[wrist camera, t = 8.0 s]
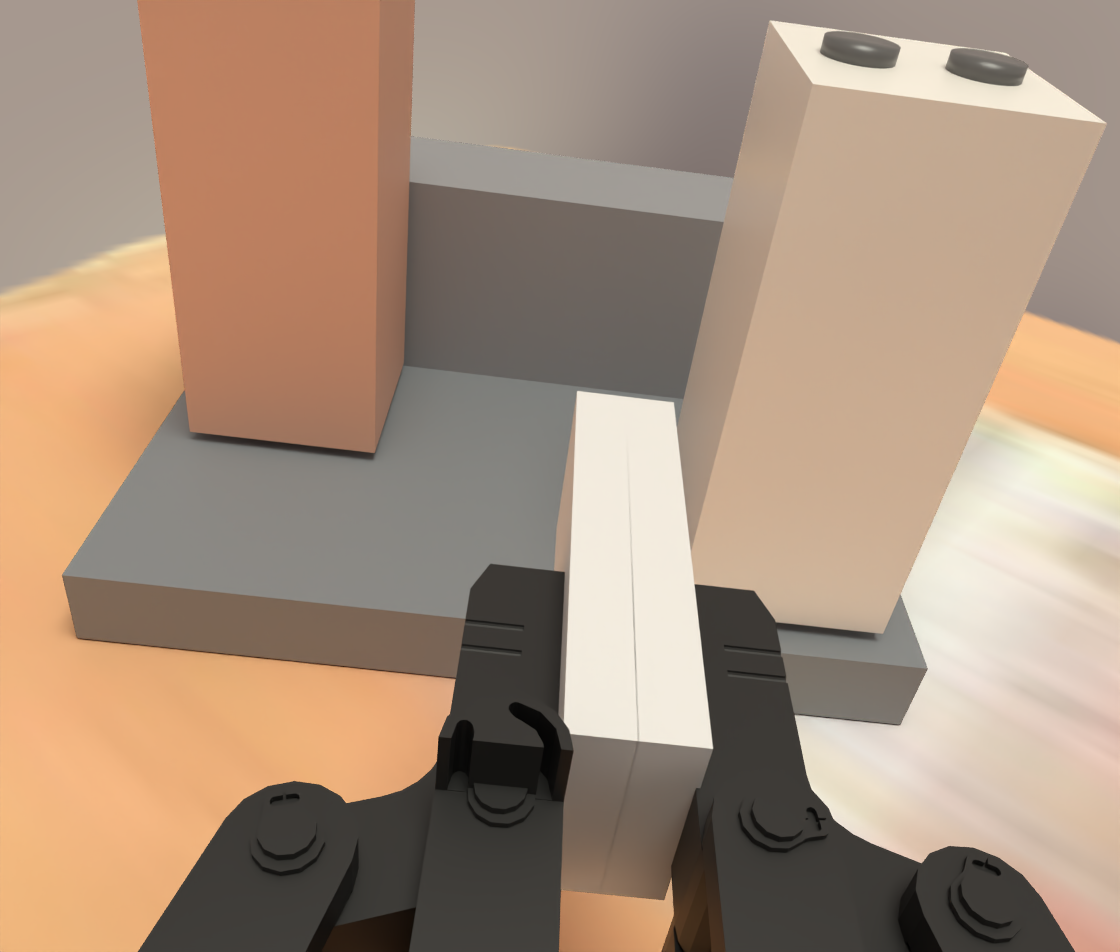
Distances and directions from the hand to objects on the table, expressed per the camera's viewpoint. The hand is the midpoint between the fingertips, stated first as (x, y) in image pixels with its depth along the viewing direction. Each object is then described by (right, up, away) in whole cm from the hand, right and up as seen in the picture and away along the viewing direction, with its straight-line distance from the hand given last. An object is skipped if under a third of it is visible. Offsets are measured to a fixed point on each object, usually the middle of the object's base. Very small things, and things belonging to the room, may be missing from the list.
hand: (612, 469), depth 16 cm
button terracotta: (-8, +2, +13) cm, 16 cm away
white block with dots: (+4, -2, +10) cm, 11 cm away
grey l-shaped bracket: (-2, -1, +14) cm, 14 cm away
